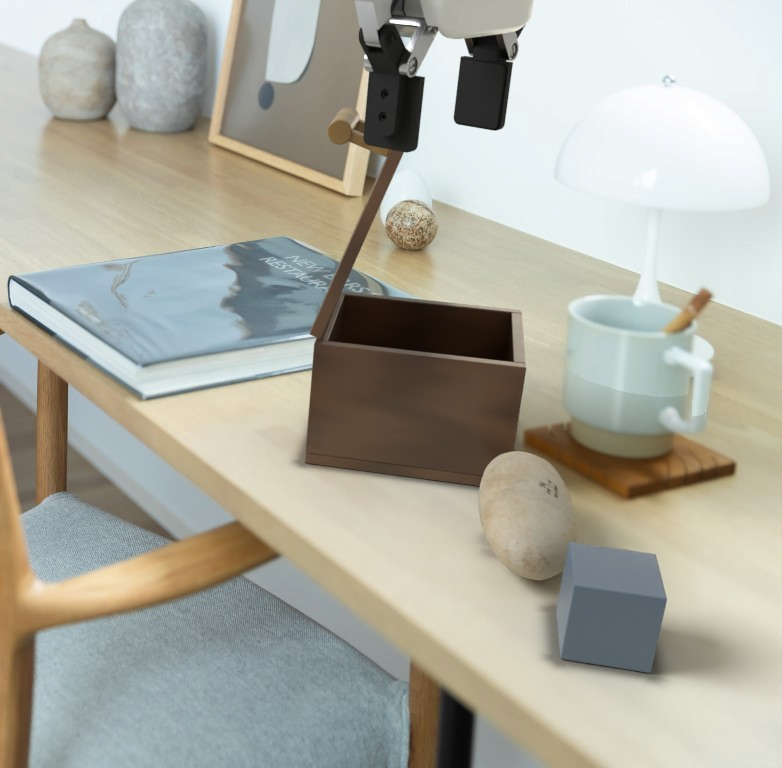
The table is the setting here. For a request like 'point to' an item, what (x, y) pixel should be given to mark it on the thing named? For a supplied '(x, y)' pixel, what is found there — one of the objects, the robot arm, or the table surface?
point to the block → (610, 607)
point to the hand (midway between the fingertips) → (436, 136)
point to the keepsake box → (415, 387)
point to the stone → (526, 514)
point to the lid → (341, 134)
